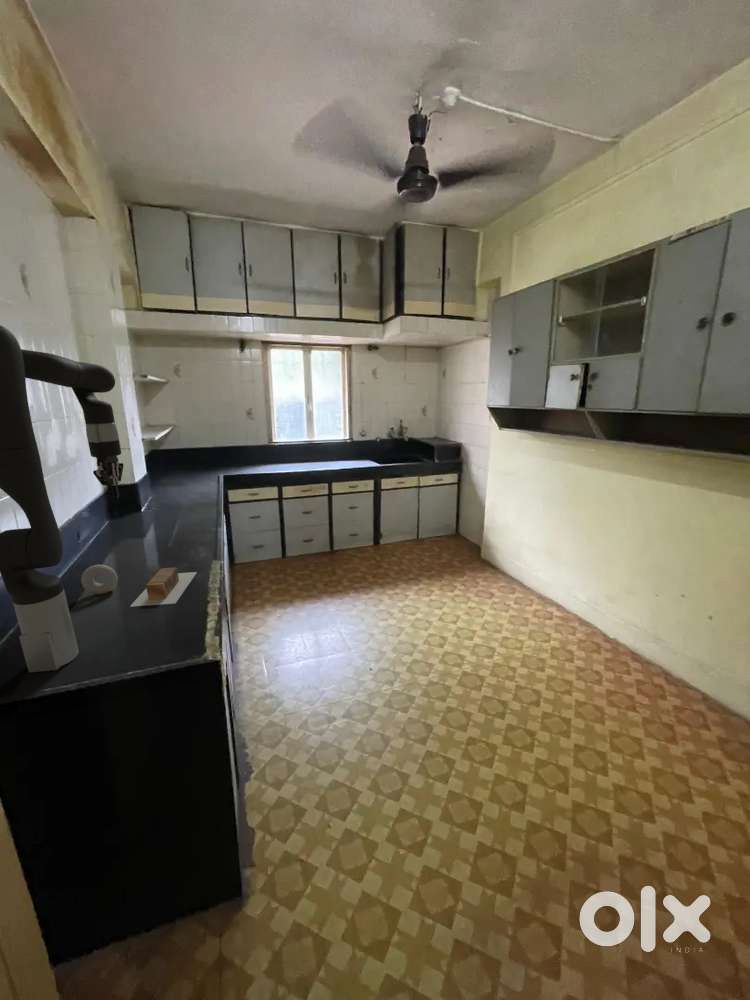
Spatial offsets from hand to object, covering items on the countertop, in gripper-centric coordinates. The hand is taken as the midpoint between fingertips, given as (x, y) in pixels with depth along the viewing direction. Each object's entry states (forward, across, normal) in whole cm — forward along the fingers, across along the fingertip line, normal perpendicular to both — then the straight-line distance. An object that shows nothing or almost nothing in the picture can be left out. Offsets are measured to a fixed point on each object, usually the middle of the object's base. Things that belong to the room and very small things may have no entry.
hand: (114, 497), depth 120 cm
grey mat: (+32, -2, +10) cm, 33 cm away
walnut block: (+29, -6, +10) cm, 31 cm away
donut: (+32, -2, -10) cm, 34 cm away
